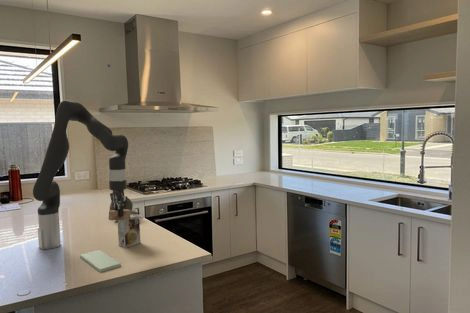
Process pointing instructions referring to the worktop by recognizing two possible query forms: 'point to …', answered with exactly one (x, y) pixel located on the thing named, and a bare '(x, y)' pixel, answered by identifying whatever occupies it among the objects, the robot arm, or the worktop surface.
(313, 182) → the worktop surface
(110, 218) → the tall wooden post
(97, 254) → the board
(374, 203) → the worktop surface
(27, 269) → the worktop surface
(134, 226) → the coffee box
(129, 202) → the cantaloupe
